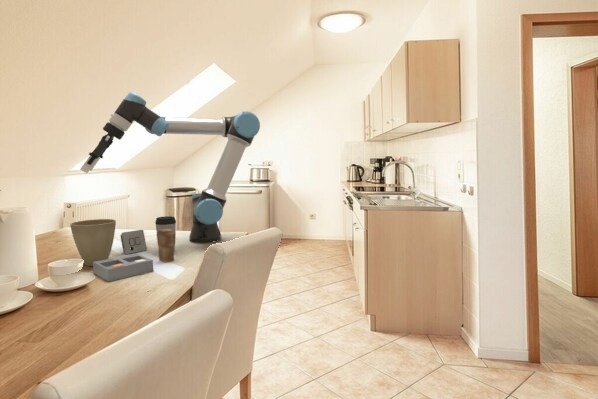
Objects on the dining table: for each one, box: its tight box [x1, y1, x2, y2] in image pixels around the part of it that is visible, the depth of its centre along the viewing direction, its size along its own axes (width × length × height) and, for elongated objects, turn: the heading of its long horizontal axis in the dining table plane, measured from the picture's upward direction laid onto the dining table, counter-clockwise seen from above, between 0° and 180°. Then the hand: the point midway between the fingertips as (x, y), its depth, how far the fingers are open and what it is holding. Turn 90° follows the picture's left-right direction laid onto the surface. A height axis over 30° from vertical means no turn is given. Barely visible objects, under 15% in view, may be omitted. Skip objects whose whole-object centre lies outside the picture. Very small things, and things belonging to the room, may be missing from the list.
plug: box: [157, 229, 175, 263], centre depth 139 cm, size 4×4×12 cm
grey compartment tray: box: [92, 253, 154, 282], centre depth 124 cm, size 15×13×4 cm
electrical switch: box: [119, 229, 148, 255], centre depth 153 cm, size 9×5×9 cm, turn 141°
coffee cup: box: [154, 215, 177, 252], centre depth 151 cm, size 8×8×15 cm
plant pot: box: [69, 218, 117, 267], centre depth 135 cm, size 15×15×16 cm
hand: (85, 170), depth 143 cm, fingers open, 13 cm apart
